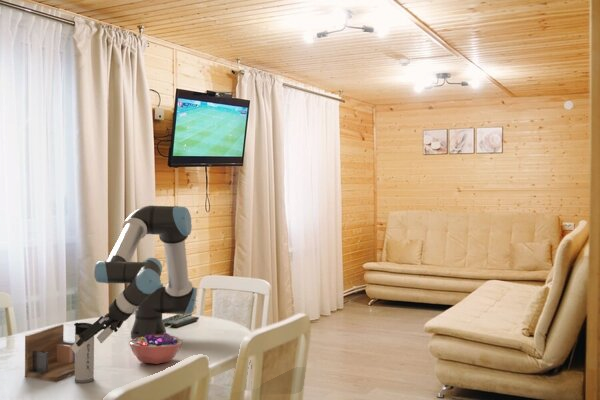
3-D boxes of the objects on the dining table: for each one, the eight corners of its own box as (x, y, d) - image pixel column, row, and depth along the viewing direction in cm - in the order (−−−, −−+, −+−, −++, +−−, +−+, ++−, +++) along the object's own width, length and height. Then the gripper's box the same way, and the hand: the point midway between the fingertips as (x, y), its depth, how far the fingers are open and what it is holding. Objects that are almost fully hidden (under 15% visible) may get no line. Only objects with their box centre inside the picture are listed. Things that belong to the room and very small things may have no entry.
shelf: (90, 366, 229) (90, 327, 228) (56, 381, 212) (56, 340, 211) (60, 361, 233) (60, 324, 233) (24, 376, 216) (25, 335, 216)
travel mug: (76, 377, 217) (76, 321, 216) (95, 377, 217) (96, 321, 216) (71, 383, 211) (71, 325, 210) (91, 383, 211) (91, 325, 210)
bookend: (48, 371, 217) (48, 352, 217) (41, 374, 214) (41, 354, 214) (35, 369, 219) (35, 350, 219) (27, 372, 216) (28, 352, 216)
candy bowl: (136, 354, 245) (136, 326, 244) (186, 356, 244) (186, 328, 244) (122, 368, 228) (123, 338, 228) (176, 370, 228) (177, 339, 227)
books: (75, 360, 231) (76, 341, 231) (69, 363, 228) (69, 344, 227) (63, 358, 233) (63, 340, 233) (56, 361, 230) (56, 342, 229)
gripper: (108, 322, 194) (68, 363, 199) (151, 307, 218) (115, 344, 223) (94, 304, 195) (55, 345, 201) (139, 290, 219) (103, 328, 224)
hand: (86, 345), depth 212 cm, fingers open, 13 cm apart
